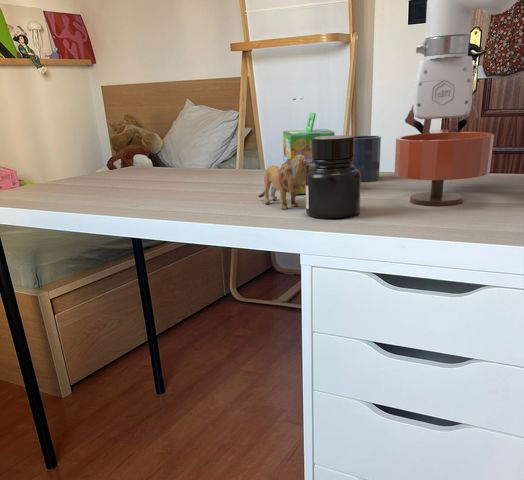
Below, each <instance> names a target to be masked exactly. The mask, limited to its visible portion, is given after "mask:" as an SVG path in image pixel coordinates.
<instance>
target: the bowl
mask: <svg viewBox="0 0 524 480" xmlns="http://www.w3.org/2000/svg"><path fill="white" fill-rule="evenodd" d="M449 131H450V130H448V129H430V133H426V134H421V133H416V134H406V135H402V136H397V137H396V138H395V152H394V153H395V154H394V156H395V157H394V176H395V177H397V178H400V179H405V180H418V181H432V180H444V181H452V180H453V181H455V180H465V179H473V178H479V177H483V176H487V175H488V174H490V172H491V166H492V165H491V164H492V158H493V157H492V156H493V148H494V142H495V141H494V140H495V134H494V133H492V132H485V131H459V132H449Z"/></svg>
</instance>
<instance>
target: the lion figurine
mask: <svg viewBox="0 0 524 480" xmlns="http://www.w3.org/2000/svg"><path fill="white" fill-rule="evenodd" d="M311 168H312V166H310V165H309V164H308V163H307V162H306V159H305V156H302V155H296V156H294V157H292V158H290V159H288V160H287V161H286V162H285V163H282V164H281V167H279V166H277V165H275V164H274V165H273V164H271V165H270V166H267V168H266V169H265V170H264V175H263V182H264V183H263V184H264V190H263V192H262V193H260V194H259V195H258V198H259V199H260V198H263V197H264V202H263V204H264V205H270V204H271V200H272V201H277V199H278V198H277V197H278V196H276V192H277V190H278V191H279V197H280V209H281V210H288V209H289V206H288V203H287V193H289V192H291V194H290V200H289V204H290V206H291V207H293V208H295V207H299V203H298V202H296V196H297V194H296V192H297V191H298V190H300V186H301V185H303V184H304V183H305V182H306V174H307V173H308V171H310V170H311ZM270 188H271V189H270ZM270 199H271V200H270Z"/></svg>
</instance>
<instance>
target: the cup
mask: <svg viewBox="0 0 524 480" xmlns="http://www.w3.org/2000/svg"><path fill="white" fill-rule="evenodd" d="M354 136H355V156H354V158H355V159H354V161H353V162H351V164H352V165H354V166H355V168H356V169H358V170H359V171H360V174H361V183H370V182H376V181H379V180H380V170H381V166H380V165H381V151H382V150H381V149H382V136H381V135H354Z"/></svg>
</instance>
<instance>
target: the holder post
mask: <svg viewBox="0 0 524 480" xmlns="http://www.w3.org/2000/svg"><path fill="white" fill-rule="evenodd" d="M444 181H445V180H431V184H430V185H431V186H430V191H425V192H417V193H414V194H411V195H410V196H409V202H410V203H411V204H414V205H420V206H427V207H429V206H430V207H444V206H445V207H446V206H454V205H458V204H461V203H463V201H464V195H462V194H461V193H456V192H448V191H447V192H446V191H444V183H445V182H444Z"/></svg>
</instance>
